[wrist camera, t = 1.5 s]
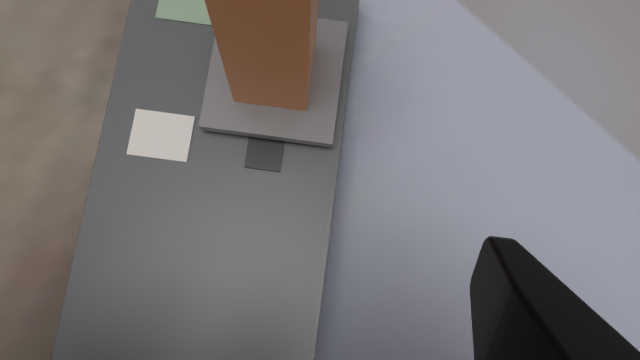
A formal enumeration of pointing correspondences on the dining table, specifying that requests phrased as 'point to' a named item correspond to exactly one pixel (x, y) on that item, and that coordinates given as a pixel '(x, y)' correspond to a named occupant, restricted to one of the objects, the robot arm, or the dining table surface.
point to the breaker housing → (197, 213)
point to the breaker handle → (273, 71)
